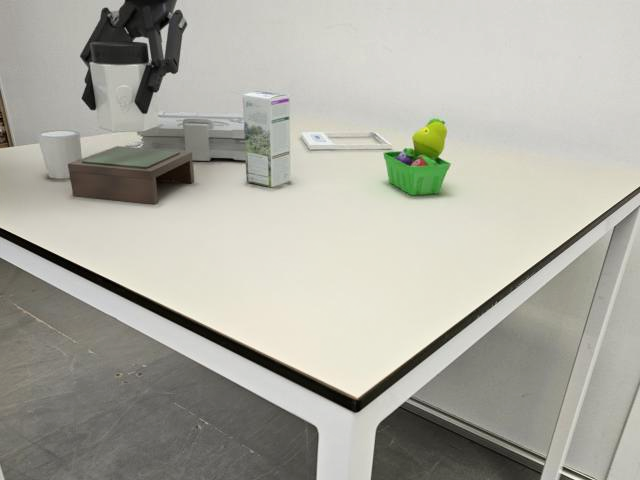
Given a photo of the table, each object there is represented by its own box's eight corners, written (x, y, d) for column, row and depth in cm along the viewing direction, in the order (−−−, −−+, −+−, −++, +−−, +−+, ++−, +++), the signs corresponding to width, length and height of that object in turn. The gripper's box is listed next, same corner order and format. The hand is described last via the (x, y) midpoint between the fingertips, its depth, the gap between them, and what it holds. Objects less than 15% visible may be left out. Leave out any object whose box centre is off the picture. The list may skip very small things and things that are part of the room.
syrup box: (291, 181, 105) (291, 93, 98) (271, 188, 101) (269, 96, 94) (266, 176, 108) (264, 89, 101) (244, 183, 103) (241, 93, 97)
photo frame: (300, 131, 140) (375, 130, 143) (300, 136, 141) (375, 135, 144) (309, 144, 127) (392, 143, 130) (309, 149, 128) (391, 148, 131)
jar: (97, 133, 90) (84, 44, 84) (100, 123, 96) (88, 40, 91) (159, 131, 92) (151, 45, 86) (157, 122, 99) (149, 41, 93)
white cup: (79, 168, 110) (73, 128, 106) (91, 176, 105) (85, 134, 102) (39, 172, 106) (31, 131, 103) (50, 181, 101) (42, 138, 98)
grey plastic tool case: (141, 140, 133) (137, 103, 129) (268, 144, 133) (267, 107, 129) (112, 159, 116) (106, 118, 112) (257, 164, 116) (256, 122, 112)
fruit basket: (379, 181, 107) (383, 114, 101) (423, 178, 109) (430, 113, 104) (407, 198, 97) (414, 126, 92) (455, 195, 100) (464, 124, 95)
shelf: (73, 195, 94) (67, 162, 92) (121, 175, 106) (116, 144, 104) (154, 204, 91) (150, 170, 89) (194, 181, 103) (192, 151, 101)
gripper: (223, 6, 97) (187, 126, 91) (108, 3, 102) (66, 117, 95) (207, -34, 90) (167, 93, 84) (84, -36, 95) (38, 85, 88)
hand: (114, 106), depth 90 cm, fingers closed on jar, 8 cm apart
